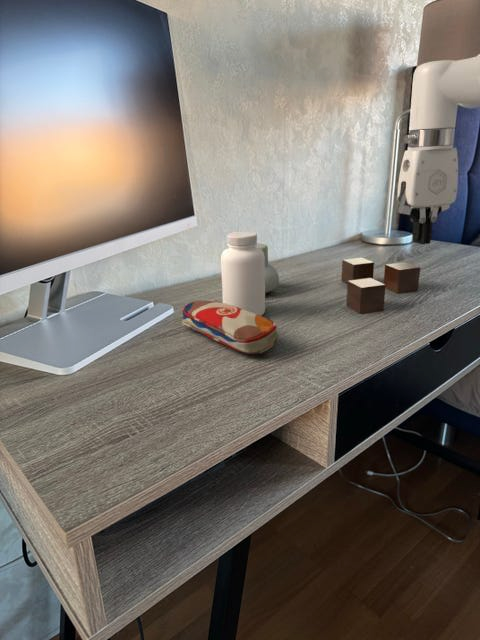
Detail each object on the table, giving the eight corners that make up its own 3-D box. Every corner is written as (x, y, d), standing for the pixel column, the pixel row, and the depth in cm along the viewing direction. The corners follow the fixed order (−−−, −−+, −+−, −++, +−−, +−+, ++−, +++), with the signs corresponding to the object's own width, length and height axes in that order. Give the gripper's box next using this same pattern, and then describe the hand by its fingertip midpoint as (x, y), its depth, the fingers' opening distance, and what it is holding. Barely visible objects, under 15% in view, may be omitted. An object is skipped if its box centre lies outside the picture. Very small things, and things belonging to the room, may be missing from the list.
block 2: (369, 302, 87) (370, 277, 85) (383, 310, 82) (385, 284, 81) (346, 305, 86) (347, 280, 84) (359, 314, 81) (361, 287, 79)
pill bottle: (258, 322, 79) (255, 238, 74) (216, 318, 82) (211, 237, 77) (270, 307, 86) (269, 230, 81) (232, 304, 89) (228, 229, 83)
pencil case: (219, 369, 63) (217, 337, 61) (177, 324, 80) (174, 298, 78) (286, 352, 67) (286, 321, 66) (233, 313, 84) (231, 288, 82)
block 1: (360, 278, 102) (362, 257, 100) (372, 284, 98) (374, 262, 96) (341, 281, 101) (342, 259, 99) (352, 287, 96) (353, 264, 95)
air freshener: (229, 287, 100) (227, 243, 96) (263, 282, 102) (262, 239, 99) (245, 301, 90) (243, 253, 87) (282, 296, 93) (282, 248, 89)
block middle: (403, 284, 97) (405, 262, 95) (418, 290, 92) (420, 267, 91) (383, 287, 96) (385, 264, 94) (397, 293, 91) (399, 270, 89)
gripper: (408, 142, 74) (400, 251, 81) (480, 137, 78) (467, 241, 85) (382, 143, 81) (376, 243, 87) (449, 139, 85) (439, 235, 91)
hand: (421, 242), depth 86 cm, fingers closed
